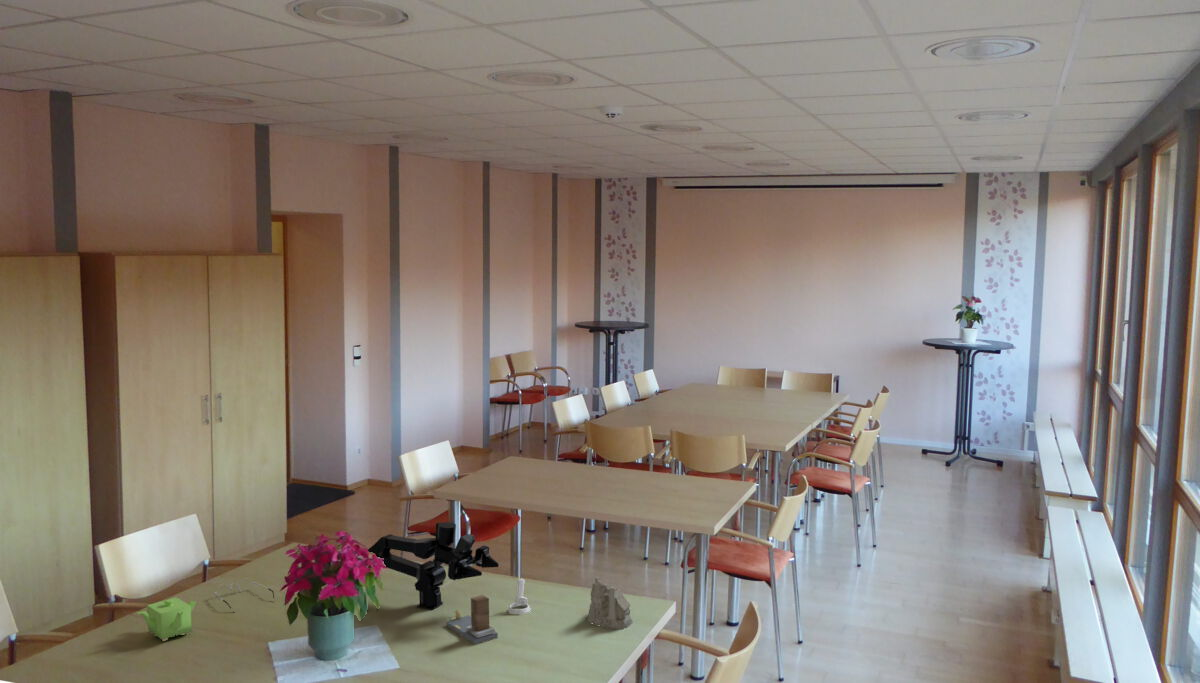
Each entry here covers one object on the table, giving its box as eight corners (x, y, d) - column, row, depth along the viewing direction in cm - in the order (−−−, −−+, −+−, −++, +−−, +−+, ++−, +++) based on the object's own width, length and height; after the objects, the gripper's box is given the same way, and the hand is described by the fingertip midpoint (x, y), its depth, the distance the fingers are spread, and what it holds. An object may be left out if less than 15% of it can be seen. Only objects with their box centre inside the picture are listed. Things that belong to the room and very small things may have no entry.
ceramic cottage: (619, 631, 286) (619, 584, 286) (577, 621, 296) (577, 575, 296) (647, 619, 298) (647, 573, 298) (606, 609, 308) (606, 565, 308)
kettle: (184, 644, 280) (182, 608, 279) (136, 646, 279) (134, 610, 278) (202, 624, 295) (200, 590, 294) (156, 626, 294) (154, 592, 293)
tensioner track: (446, 625, 292) (445, 613, 292) (468, 619, 297) (467, 607, 297) (474, 644, 278) (474, 631, 277) (497, 637, 283) (497, 625, 282)
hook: (530, 585, 313) (535, 580, 307) (527, 621, 307) (532, 616, 301) (509, 582, 311) (513, 577, 305) (505, 618, 305) (509, 613, 299)
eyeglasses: (256, 588, 328) (255, 575, 327) (278, 602, 314) (277, 588, 314) (210, 600, 317) (210, 586, 317) (231, 615, 303) (230, 600, 303)
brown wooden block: (466, 630, 284) (465, 597, 283) (483, 625, 287) (482, 592, 286) (477, 637, 278) (477, 603, 277) (494, 632, 282) (494, 599, 281)
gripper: (435, 540, 294) (474, 554, 286) (470, 525, 310) (508, 538, 303) (432, 573, 295) (471, 587, 288) (468, 557, 312) (505, 570, 304)
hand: (490, 569), depth 296 cm, fingers open, 9 cm apart
